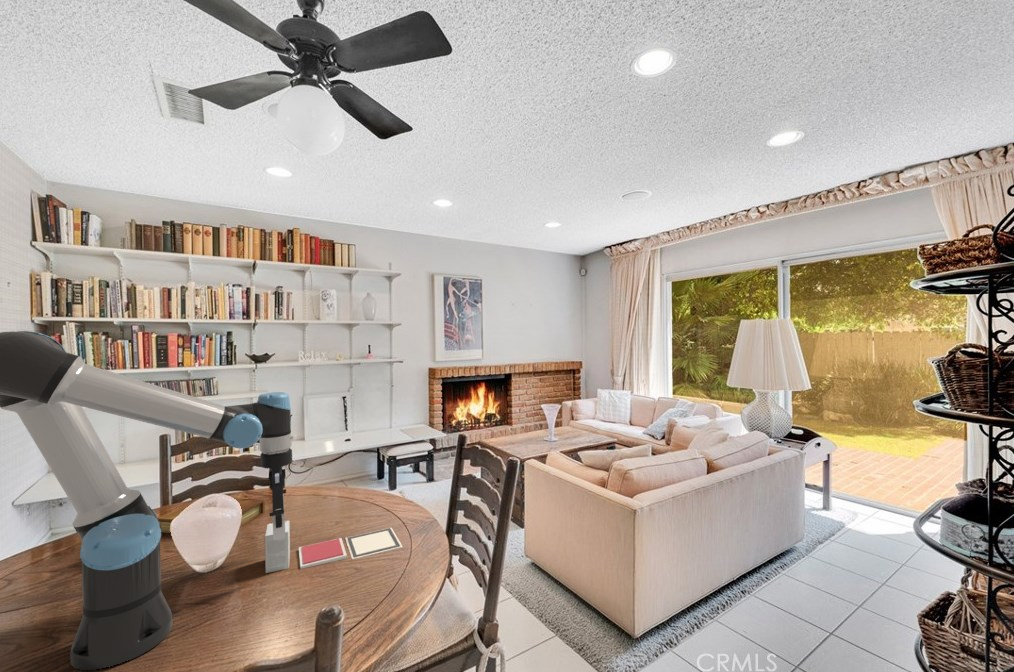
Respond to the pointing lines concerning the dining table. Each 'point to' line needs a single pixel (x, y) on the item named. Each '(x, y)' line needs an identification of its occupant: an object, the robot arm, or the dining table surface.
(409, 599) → the dining table surface
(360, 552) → the card
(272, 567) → the small box
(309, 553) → the ink pad
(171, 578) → the dining table surface
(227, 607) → the dining table surface
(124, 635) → the robot arm
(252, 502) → the diary
